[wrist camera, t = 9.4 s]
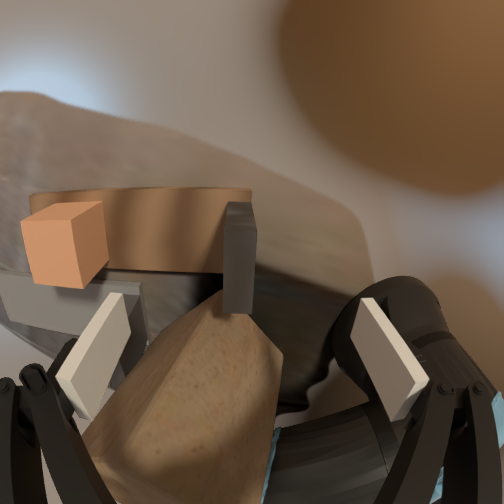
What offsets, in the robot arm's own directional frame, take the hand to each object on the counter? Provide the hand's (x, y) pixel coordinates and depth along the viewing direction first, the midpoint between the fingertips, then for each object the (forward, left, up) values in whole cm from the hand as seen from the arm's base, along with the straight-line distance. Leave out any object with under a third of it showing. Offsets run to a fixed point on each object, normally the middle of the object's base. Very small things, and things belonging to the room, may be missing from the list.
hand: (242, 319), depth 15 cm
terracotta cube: (+16, -1, -12) cm, 20 cm away
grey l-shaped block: (+22, +9, -13) cm, 27 cm away
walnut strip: (+11, -1, -13) cm, 17 cm away
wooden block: (+2, +12, -12) cm, 17 cm away
